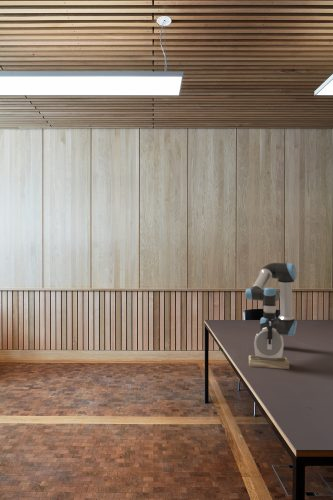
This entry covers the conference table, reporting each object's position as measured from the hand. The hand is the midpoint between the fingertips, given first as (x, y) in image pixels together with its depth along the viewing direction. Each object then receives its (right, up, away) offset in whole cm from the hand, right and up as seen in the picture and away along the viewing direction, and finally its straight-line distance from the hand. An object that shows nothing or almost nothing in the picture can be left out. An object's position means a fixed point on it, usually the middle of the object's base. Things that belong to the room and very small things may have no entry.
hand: (268, 347), depth 272 cm
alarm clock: (0, -8, 0) cm, 8 cm away
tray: (0, -11, 0) cm, 11 cm away
